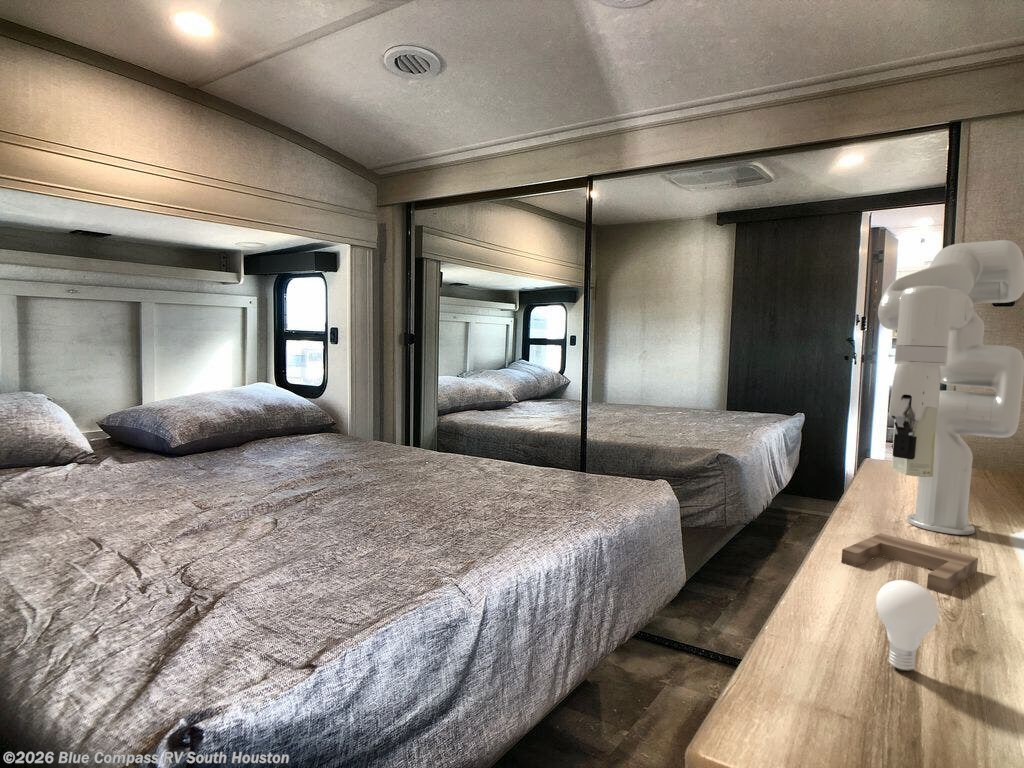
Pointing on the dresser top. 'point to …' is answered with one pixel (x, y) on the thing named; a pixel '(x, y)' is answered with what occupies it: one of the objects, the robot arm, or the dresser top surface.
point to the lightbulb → (905, 619)
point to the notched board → (915, 559)
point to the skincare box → (920, 447)
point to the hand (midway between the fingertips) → (911, 455)
